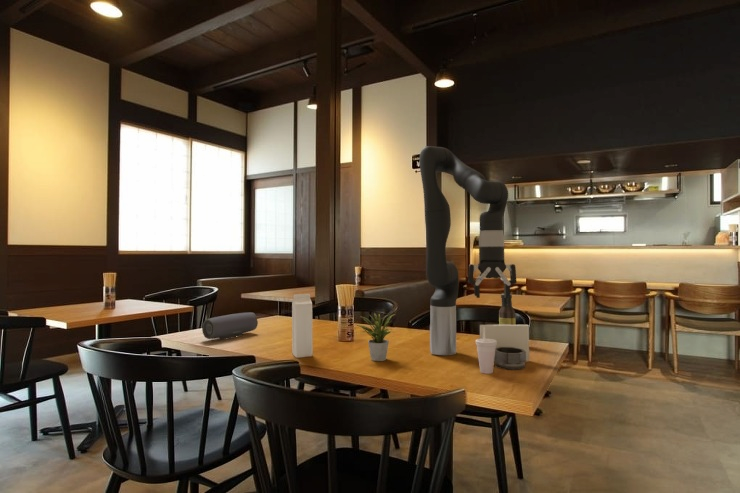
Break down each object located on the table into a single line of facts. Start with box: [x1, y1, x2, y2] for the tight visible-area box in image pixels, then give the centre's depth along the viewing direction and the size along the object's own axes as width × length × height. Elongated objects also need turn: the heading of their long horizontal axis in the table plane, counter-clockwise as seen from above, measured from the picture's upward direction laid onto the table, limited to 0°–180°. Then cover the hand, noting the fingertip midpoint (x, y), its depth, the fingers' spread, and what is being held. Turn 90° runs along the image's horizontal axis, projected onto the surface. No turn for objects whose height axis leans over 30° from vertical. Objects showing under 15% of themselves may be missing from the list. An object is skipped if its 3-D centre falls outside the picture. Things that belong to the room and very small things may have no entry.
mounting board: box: [479, 324, 530, 362], centre depth 142 cm, size 16×1×12 cm, turn 87°
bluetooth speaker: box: [201, 312, 259, 340], centre depth 184 cm, size 23×9×10 cm, turn 145°
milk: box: [291, 293, 314, 359], centre depth 152 cm, size 6×6×22 cm
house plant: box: [356, 312, 396, 362], centre depth 146 cm, size 14×14×16 cm
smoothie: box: [475, 326, 497, 375], centre depth 129 cm, size 6×6×14 cm
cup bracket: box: [494, 347, 527, 371], centre depth 136 cm, size 9×10×5 cm
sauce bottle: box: [498, 293, 517, 325], centre depth 166 cm, size 6×6×20 cm
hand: (492, 297), depth 131 cm, fingers open, 8 cm apart
